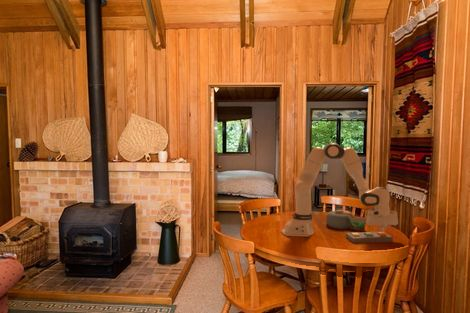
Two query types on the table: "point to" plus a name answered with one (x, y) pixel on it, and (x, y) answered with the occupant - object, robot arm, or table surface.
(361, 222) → the food container
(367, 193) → the robot arm
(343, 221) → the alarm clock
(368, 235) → the olive green button
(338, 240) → the table surface
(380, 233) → the orange button
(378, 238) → the button board
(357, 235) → the cream button
